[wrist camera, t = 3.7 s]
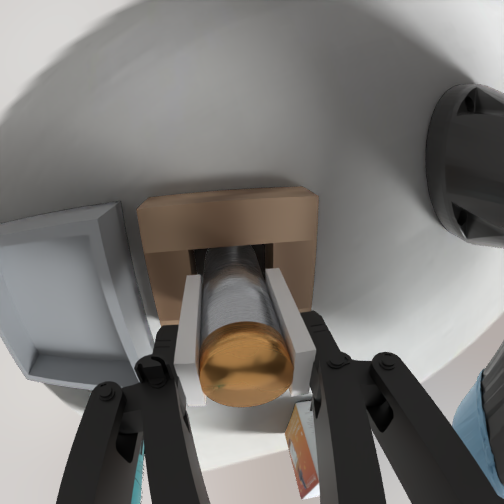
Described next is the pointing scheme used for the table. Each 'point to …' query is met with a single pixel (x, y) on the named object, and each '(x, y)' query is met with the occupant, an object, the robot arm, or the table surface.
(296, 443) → the small box
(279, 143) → the table surface
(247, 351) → the pin
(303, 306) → the block
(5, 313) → the tray
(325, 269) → the table surface
